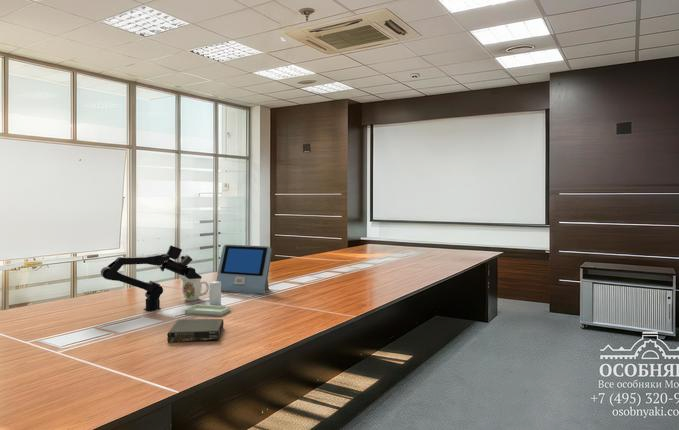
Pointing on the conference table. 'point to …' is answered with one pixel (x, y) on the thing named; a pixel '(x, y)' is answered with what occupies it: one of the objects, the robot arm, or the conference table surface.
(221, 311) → the tray
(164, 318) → the conference table surface
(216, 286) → the white rounded capsule
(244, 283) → the touchscreen device
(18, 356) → the conference table surface
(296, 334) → the conference table surface
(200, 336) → the network switch
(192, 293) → the pitcher
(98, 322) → the conference table surface
